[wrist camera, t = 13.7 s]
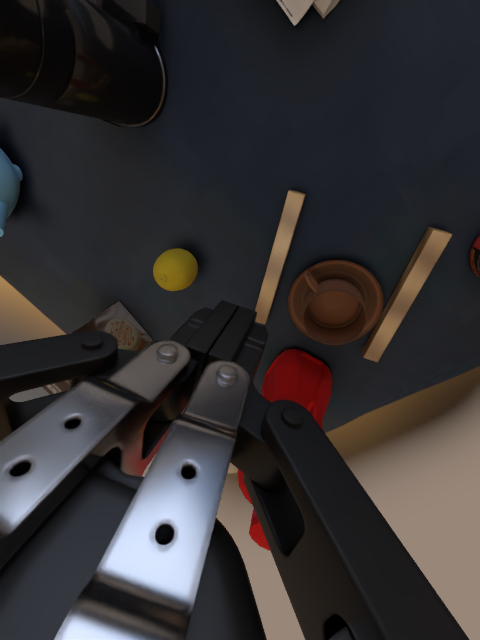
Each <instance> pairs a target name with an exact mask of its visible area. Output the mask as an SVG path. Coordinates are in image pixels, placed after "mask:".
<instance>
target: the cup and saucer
mask: <svg viewBox="0 0 480 640" xmlns="http://www.w3.org/2000/svg"><path fill="white" fill-rule="evenodd" d="M382 309H383V293H382V289H381V287H380V285H379V283H378V281H377V280H376V278H375V277H374V276H373V275H372V274H371V273H370V272H369V271H368V270H367V269H365V268H364V267H362V266H360V265H358V264H356V263H353V262H349V261H344V260H330V261H324V262H321V263H318V264H315V265H313V266H311V267H309V268H308V269H306V270H305V271H304V272H303V273H301V274H300V275H299V276H298V278H297V279H296V280H295V282H294V283H293V285H292V287H291V289H290V292H289V296H288V310H289V314H290V317H291V319H292V321H293V323H294V324H295V326H296V327H297V328H298V329H299V330H300V331H301V332H302V333H303V334H305V335H306V336H308V337H309V338H311V339H313V340H316V341H318V342H321V343H323V344H327V345H342V344H346V343H348V342H351V341H353V340H356V339H358V338H360V337H362V336H363V335H365V334H366V333H368V332H369V331H370V330H371V329H372V328H373V327H374V326H375V324H376V323H377V321H378V320H379V318H380V316H381V313H382Z"/></svg>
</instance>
